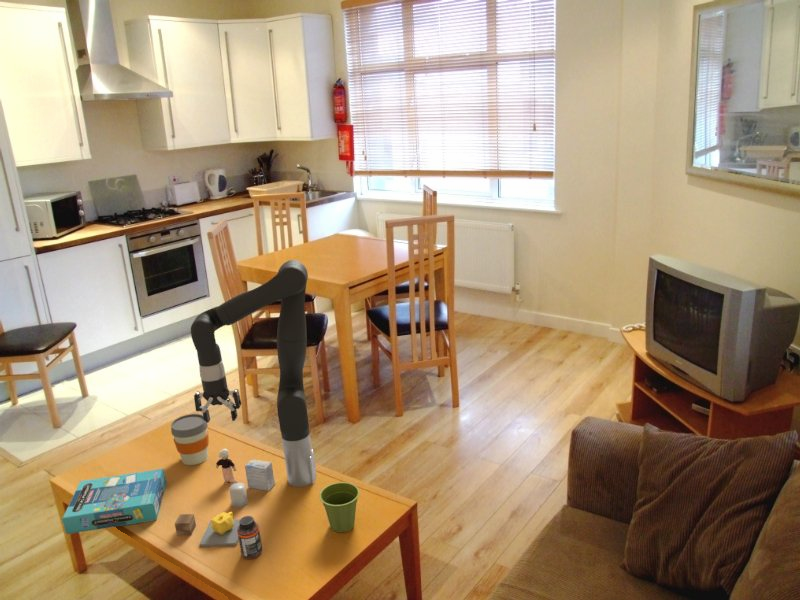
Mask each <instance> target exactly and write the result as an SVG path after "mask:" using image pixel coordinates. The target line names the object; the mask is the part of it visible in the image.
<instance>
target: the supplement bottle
mask: <svg viewBox="0 0 800 600" xmlns="http://www.w3.org/2000/svg"><path fill="white" fill-rule="evenodd" d="M239 523H240V525H239V527H238V530H237V532H238V538H239V540H238V543H239V548H240V553H241V556H242V557H243V558H244V559H247V560H250V559H251V560H252V559H255V558H257V557H259V556H260V555H261V554H262V552H263V545H262V539H261V538H262V537H261V534H260V527H259V525H258V523H257V521H256V522H255V519H254V517H253V516H251V515H245V516H242V517H241V518H240V521H239Z"/></svg>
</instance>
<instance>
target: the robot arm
mask: <svg viewBox="0 0 800 600" xmlns="http://www.w3.org/2000/svg"><path fill="white" fill-rule="evenodd" d="M307 270H308V269H307V268H306V266H305V265H304V264H303V263H302V262H301V261H299V260H297V259H290V260H287V261H285V262H284V263H283V264H282V265H281V266H280V267H279V268H278V271H277V273H276V275H274V276H273V277H272V278H270V280H268V281H267V282H265V283H263V284H262V285H260V286H258V287H256V288H253V289H251V290H248V291H245V292H242V293H241V294H238V295H236V296H234V297H232V298H230V299H228V300H227V301H225V302H222V303H221V304H220V305H217V306H214V307H212V308H209V309H207V310H205V311H203V312H201V313H200V314H198V315H197V316H196V317H195V319H194V321H193V322H192V324H191V325H190V337H191V339H192V343H193V345H194V348H195V350H196V354H197V359H198V365H199V367H198V368H199V376H200V380H201V385H202V387H201V388H202V391H203V392H200V391H199V390H198V391H196V392H195V394H194V395H193V398H194V407H195V411H196V412H201V413H202V415H203V417H204V421H206V423H207V424H208V423H210V421H211V417H210V412H209V411H210V410H209V406H210V405H212V406H222V405H224V407H226V408H228V409H229V410H230V415H231V416H230V417H231V421H232V422H235V421H236V419H237V418H238V411H237V410H239V409H241V406H242V400H241V396H240V391H239V389H237V388H235V389H234V390H230V389H229V387H228V382H227V378H226V370H225V366H224V363H223V359H222V358H223V357H222V352H221V348H220V345H219V344H218V343H217V341H216V338H215V337H216V336H215V332H216V331H217V330H219V329H220V328H222V327H225V326H231V325H234V324H236V323H237V322H239V321H241V320H242V319H245V318H246V317H248V316H250V315H251V314H254V313H255V312H257V311H259V310H261V309H263V308H265V307H267V306H268V305H271V304H274V303H276V302H277V301H280V309H279V310H280V311H279V316H278V323H277V334H276V335H277V336H276V350H277V360H278V366H279V382H278V389H277V390H278V391H277V397H276V410H277V416H278V417H277V418H278V423H279V430H280V435H281V443H282V448H283V454H284V462H285V463H284V464H285V470H286V478H287V482H288V484H289V485H290V486H292V487H294V488H301V487H306V486H309V485H313V484H314V483H315V480H316V477H317V466H316V457H315V452H314V451H315V450H314V449H313V447H312V441H311V432H310V431H311V430H310V423H309V415H308V409H307V401H306V398H307V397H306V394H305V387H304V378H303V376H304V374H303V372H304V366H305V360H306V356H307V344H308V343H307V341H308V340H307V335H308V334H307V332H308V331H307V317H306V316H307V315H306V309H305V308H306V305H305V302H306V301H305V300H306V289H307V282H308V278H309V275H308V274H309V273H308V271H307ZM229 396H231V398H233V400H232V399H231V398H230V397H229ZM202 398H203V399H205V400H206V403H205V404H204V406H203V405H202Z"/></svg>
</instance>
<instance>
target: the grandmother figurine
mask: <svg viewBox="0 0 800 600" xmlns="http://www.w3.org/2000/svg"><path fill="white" fill-rule="evenodd" d="M229 452H230V451H229V450H228V448H222V449H221V450H220V452H219V454H218V458H219V460H217V462H216V463H215V468H216V469H219V467H220V466H221V470H222V476H223V485H228V484H229V486H231V485H233V484H235V483H238V480H237V479H236V478H235V476H234V472H236V471H237V468H236V466H235V465H236V464H235V463H234V462H233V461H232V459H230V458H229V455H230V454H229Z"/></svg>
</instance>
